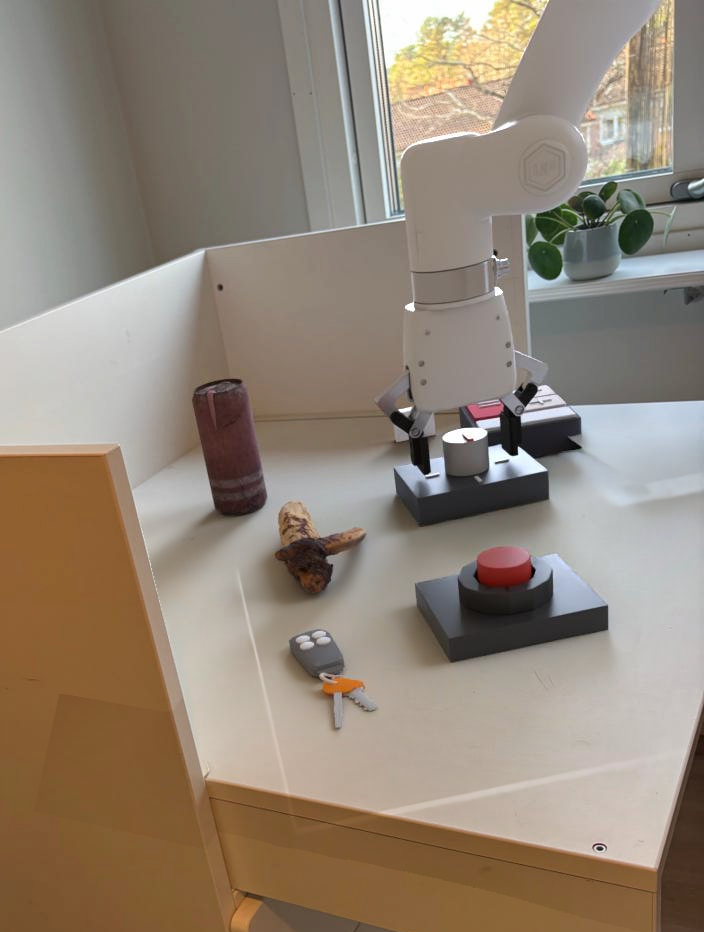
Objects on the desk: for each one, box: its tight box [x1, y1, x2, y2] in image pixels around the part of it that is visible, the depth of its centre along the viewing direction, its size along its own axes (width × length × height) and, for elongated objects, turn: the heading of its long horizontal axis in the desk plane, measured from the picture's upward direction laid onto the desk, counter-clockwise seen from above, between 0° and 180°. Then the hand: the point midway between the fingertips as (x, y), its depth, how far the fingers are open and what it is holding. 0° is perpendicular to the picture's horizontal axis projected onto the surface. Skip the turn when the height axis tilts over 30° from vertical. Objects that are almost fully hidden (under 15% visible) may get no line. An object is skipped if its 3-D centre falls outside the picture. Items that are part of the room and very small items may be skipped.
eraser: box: [392, 406, 437, 443], centre depth 118 cm, size 1×5×4 cm, turn 91°
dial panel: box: [392, 444, 550, 527], centre depth 98 cm, size 13×10×3 cm
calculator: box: [458, 384, 583, 458], centre depth 110 cm, size 11×4×15 cm
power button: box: [476, 545, 532, 587], centre depth 74 cm, size 4×4×2 cm
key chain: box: [288, 628, 379, 729], centre depth 73 cm, size 13×4×2 cm, turn 13°
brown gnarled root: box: [274, 500, 367, 594], centre depth 92 cm, size 9×5×18 cm
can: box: [191, 377, 268, 517], centre depth 106 cm, size 6×6×14 cm
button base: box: [414, 552, 609, 664], centre depth 75 cm, size 12×10×4 cm
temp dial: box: [441, 428, 489, 476], centre depth 97 cm, size 4×4×4 cm
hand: (466, 460), depth 97 cm, fingers open, 8 cm apart
